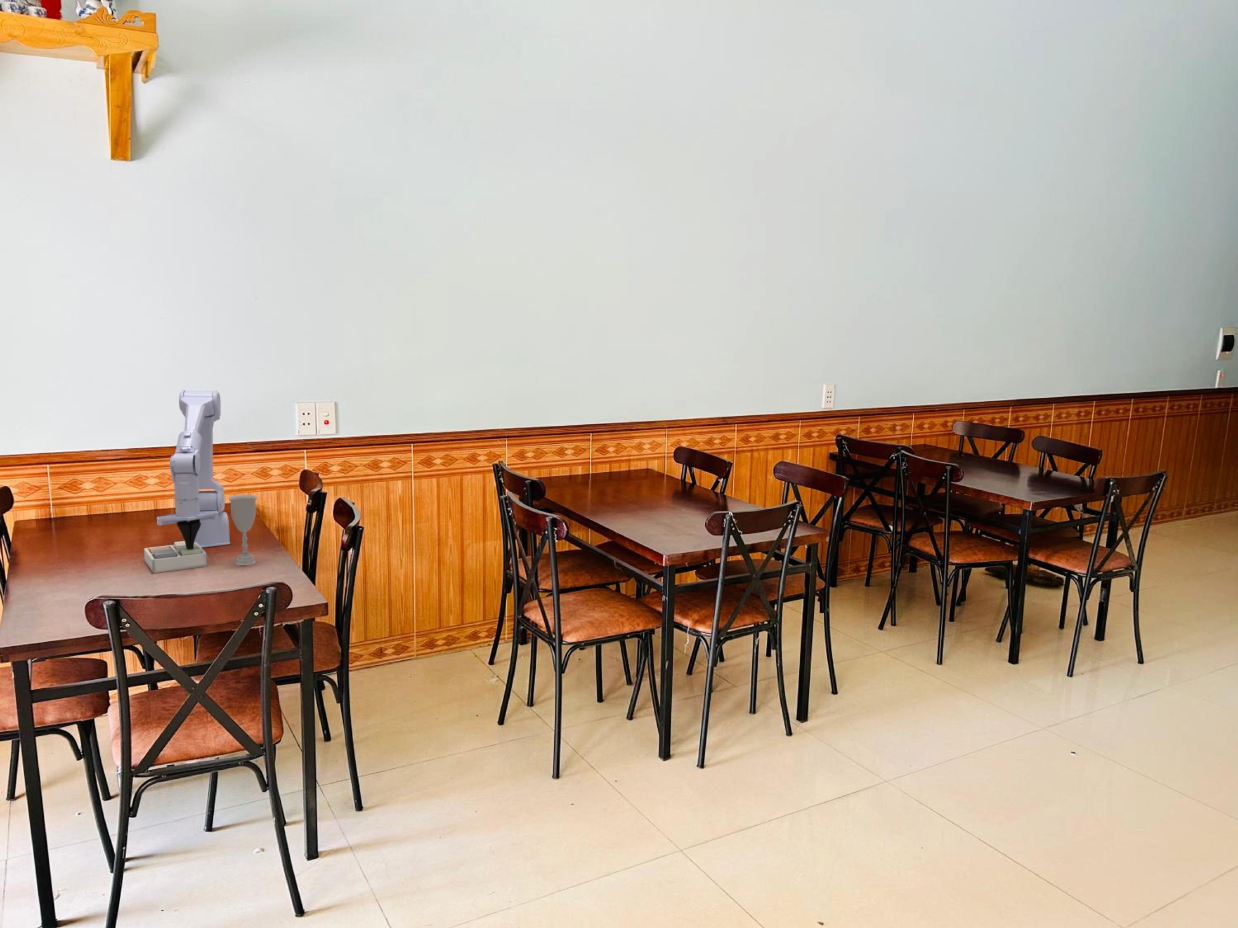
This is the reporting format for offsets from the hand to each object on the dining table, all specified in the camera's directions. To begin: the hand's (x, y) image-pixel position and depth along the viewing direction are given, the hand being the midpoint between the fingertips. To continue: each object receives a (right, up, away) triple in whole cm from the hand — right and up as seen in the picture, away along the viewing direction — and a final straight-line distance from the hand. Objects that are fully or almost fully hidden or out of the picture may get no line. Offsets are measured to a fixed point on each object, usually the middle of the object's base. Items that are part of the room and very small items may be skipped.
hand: (189, 548), depth 238 cm
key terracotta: (-9, -3, +2) cm, 9 cm away
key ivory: (-4, -1, +5) cm, 7 cm away
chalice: (+13, -4, +4) cm, 14 cm away
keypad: (-4, -4, +2) cm, 6 cm away
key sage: (0, -2, 0) cm, 3 cm away
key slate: (-5, -3, -3) cm, 7 cm away
